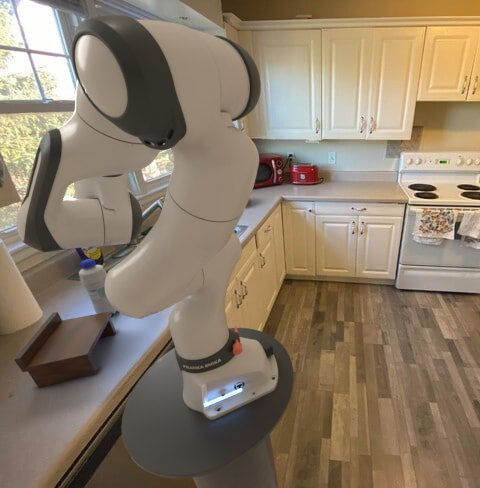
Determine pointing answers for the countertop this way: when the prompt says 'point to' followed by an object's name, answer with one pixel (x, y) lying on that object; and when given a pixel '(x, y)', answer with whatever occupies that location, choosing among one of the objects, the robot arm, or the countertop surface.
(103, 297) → the bottle
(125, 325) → the countertop surface
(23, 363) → the shelf
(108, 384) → the countertop surface
